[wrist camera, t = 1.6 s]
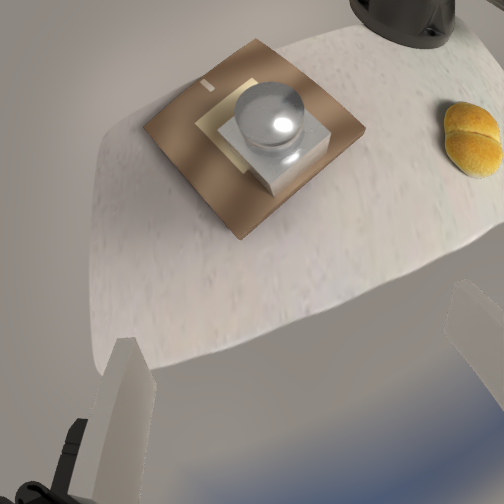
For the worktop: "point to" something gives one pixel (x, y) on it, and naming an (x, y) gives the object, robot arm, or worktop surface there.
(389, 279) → the worktop surface
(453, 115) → the bread roll
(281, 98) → the metal block with knob
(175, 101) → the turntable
